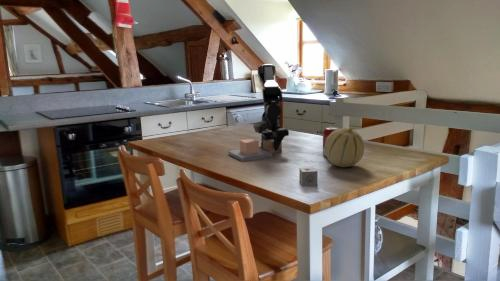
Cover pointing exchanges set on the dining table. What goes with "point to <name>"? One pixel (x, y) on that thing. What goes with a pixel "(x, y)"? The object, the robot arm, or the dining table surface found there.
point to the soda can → (325, 135)
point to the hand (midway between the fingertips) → (272, 149)
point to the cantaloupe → (344, 147)
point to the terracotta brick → (249, 146)
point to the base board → (249, 155)
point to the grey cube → (308, 176)
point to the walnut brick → (271, 146)
